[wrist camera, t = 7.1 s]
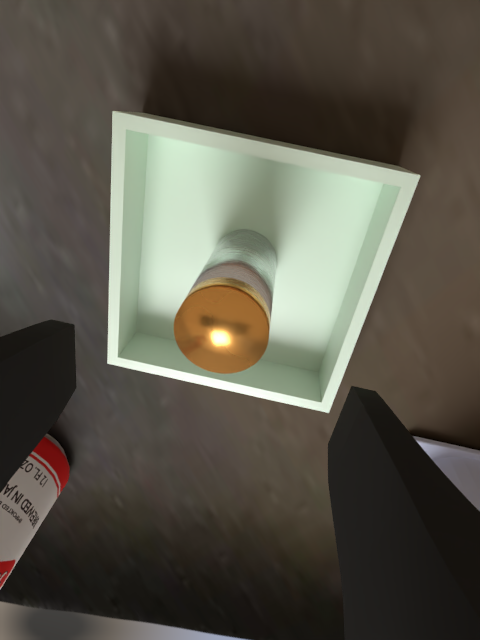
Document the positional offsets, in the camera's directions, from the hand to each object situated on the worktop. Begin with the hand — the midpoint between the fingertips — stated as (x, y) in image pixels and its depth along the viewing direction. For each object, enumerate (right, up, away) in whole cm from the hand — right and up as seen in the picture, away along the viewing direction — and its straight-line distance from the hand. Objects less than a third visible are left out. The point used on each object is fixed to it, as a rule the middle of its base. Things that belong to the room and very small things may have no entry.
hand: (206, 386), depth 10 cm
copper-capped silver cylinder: (+1, +4, +8) cm, 9 cm away
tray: (+1, +5, +9) cm, 10 cm away
